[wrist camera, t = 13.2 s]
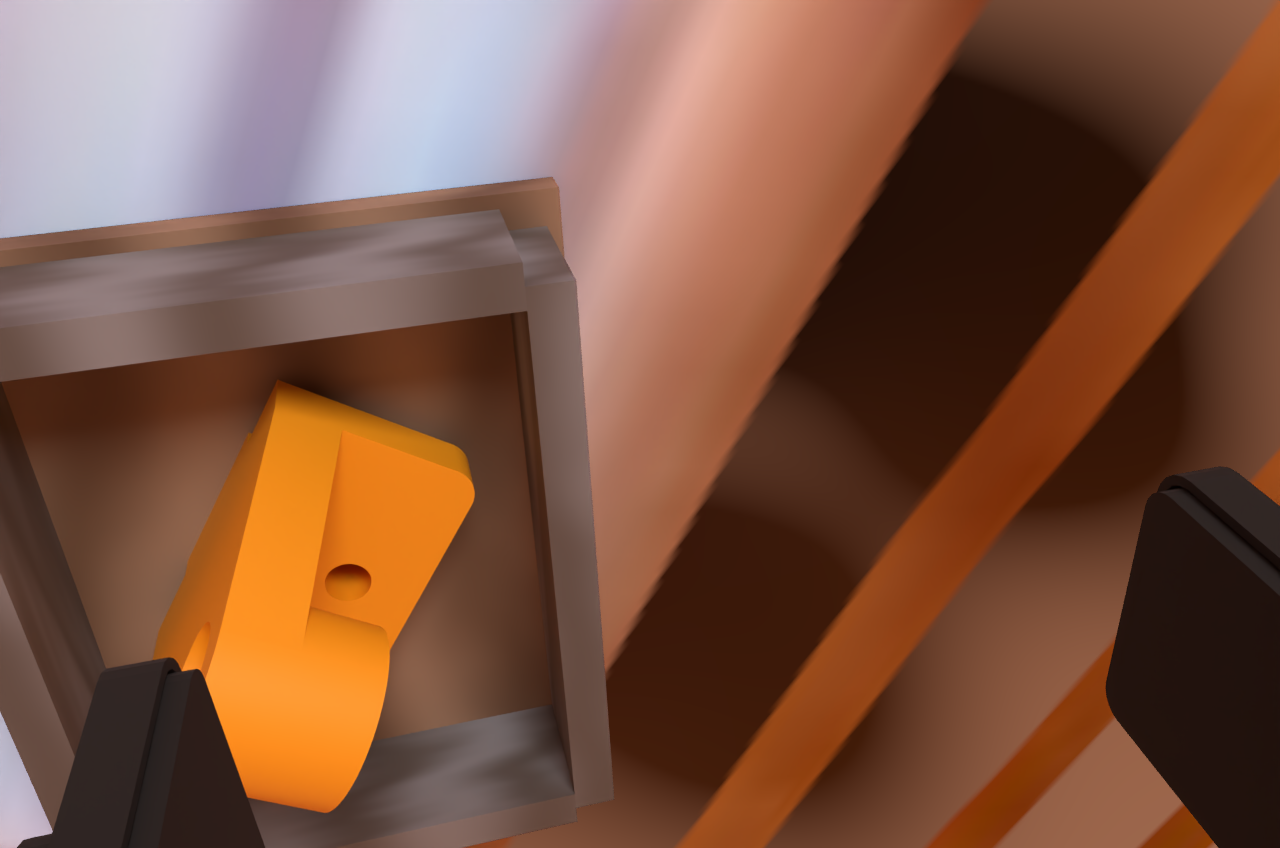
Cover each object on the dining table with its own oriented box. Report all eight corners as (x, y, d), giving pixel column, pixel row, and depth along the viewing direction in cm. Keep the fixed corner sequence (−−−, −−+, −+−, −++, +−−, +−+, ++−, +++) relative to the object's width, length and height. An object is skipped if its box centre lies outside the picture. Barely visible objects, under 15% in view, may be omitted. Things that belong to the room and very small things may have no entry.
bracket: (352, 666, 43) (360, 933, 32) (161, 616, 40) (103, 893, 29) (475, 442, 39) (528, 661, 29) (278, 368, 36) (259, 584, 26)
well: (552, 177, 37) (590, 236, 31) (595, 710, 48) (628, 818, 43) (-107, 250, 33) (-190, 333, 28) (114, 810, 45) (85, 943, 39)
